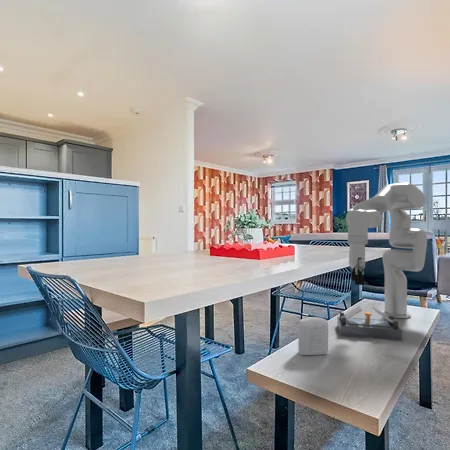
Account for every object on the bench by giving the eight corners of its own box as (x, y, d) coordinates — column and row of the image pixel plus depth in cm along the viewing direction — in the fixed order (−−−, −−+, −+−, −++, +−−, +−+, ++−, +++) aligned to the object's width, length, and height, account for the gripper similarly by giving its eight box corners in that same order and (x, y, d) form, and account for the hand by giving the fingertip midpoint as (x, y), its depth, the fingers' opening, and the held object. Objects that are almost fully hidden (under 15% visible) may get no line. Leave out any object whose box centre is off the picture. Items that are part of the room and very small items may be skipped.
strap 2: (392, 322, 127) (393, 320, 127) (395, 326, 122) (397, 324, 122) (372, 308, 129) (374, 306, 129) (374, 311, 124) (376, 309, 124)
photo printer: (324, 350, 110) (324, 315, 110) (330, 355, 106) (330, 318, 106) (296, 351, 109) (296, 316, 108) (301, 356, 104) (301, 320, 104)
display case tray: (337, 325, 135) (337, 307, 135) (393, 330, 130) (393, 310, 130) (340, 335, 124) (340, 315, 124) (401, 340, 118) (402, 319, 118)
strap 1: (343, 322, 127) (341, 320, 127) (341, 318, 132) (339, 316, 132) (362, 311, 125) (361, 308, 125) (360, 307, 130) (358, 305, 130)
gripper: (345, 239, 137) (344, 278, 137) (351, 241, 120) (350, 286, 120) (363, 239, 135) (363, 279, 135) (372, 241, 118) (371, 287, 118)
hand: (357, 282), depth 128 cm, fingers open, 8 cm apart
